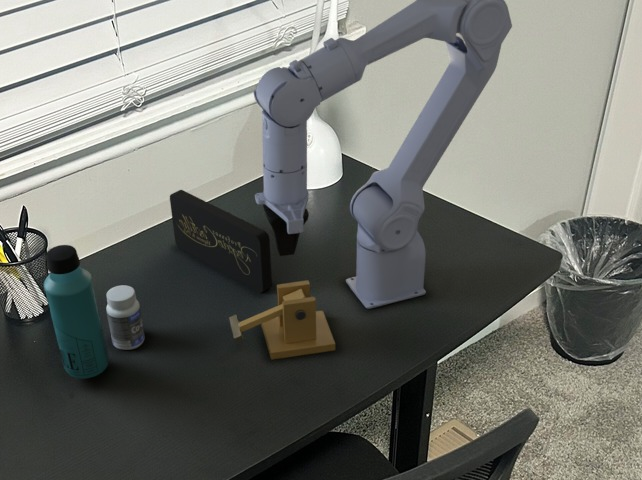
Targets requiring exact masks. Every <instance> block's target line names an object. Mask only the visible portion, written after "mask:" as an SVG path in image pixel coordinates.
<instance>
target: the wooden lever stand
mask: <svg viewBox="0 0 642 480" xmlns="http://www.w3.org/2000/svg"><path fill="white" fill-rule="evenodd" d="M299 289H302V291H303V293H304V295H305V297H306V298H301V299H294V300H287V301H284V299H283V296H285V295H288V294H290V293H292V292H294V291H297V290H299ZM276 292H277V293H276V294H277V306H278V305H281V304H282V306H283V315H281V316H278V317H276V318H274V319H271V320H269V321H267V322H264V323H262V324H260V326H261V329H262V333H263V335H264V339H265V344H266V347H267V350H268V354H269V357H270V360H278V359H285V358H292V357H299V356H305V355H313V354H320V353H326V352H333V351H336V342H335V339H334V336H333V333H332V331H331V329H330V325H329V322H328V320H327V318H326V315H325V313H324V310H317V301H316V297H315V296H311V284H310V281H309V280H308V279H307V280H300V281H293V282H287V283H280V284H276Z"/></svg>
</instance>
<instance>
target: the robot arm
mask: <svg viewBox="0 0 642 480" xmlns="http://www.w3.org/2000/svg"><path fill="white" fill-rule="evenodd" d="M512 28H513V23H512V18H511V16H510V11H509V7H508V4H507V2H506V0H415V1H414V2H411V3H410V4H409V5H407V6H406V7H404V8H403V9H401V10H400V11H397V12H396V13H395V14H393V15H392V16H390V17H388V18H386V19H385V20H384V21H382V22H381V23H380V24H378V25H376V26H375V27H373V28H371V29H369V30H368V31H366V32H365V33H363V34H362V35H360V36H358V37H357V38H356V39H354V40H353V39H352V40H351V39H349V38H345V37H338V38H337V39H334V38H333V37H330V38H328V39H326V40H323V42H322V44H323V46H322V47H321V48H319V49H317V50H314V51H313V52H311V53H310V54H308V55H306V56H305V57H303V58H301V59H299V60H298V59H294V60H292V61H291V62H289V65H288V67H286V66H282V67H280V66H277V67H273V68H271V69H269V70H268V71H266V72H265V73H264V74H263V75H262V76H261V78H260V79H259V81H258V83H257V86H256V89H255V90H253V97H254V100H255V102H256V104H257V105H258V106H259V107H260V108H261V110H262V111H261V125H262V126H261V127H262V129H261V136H262V137H261V140H262V141H261V142H262V147H261V148H262V175H263V177H262V178H263V191H262V192H256V193H255V194H254V200H255V203H256V204H257V205H259V206H261V205H262V208H263V210H264V214H265V217H266V220H267V221H268V223H269V225H270V226H271V228H272V232H273V236H274V243H275V246H276V247H275V248H276V249H277V251H278V255H279V257H286V256H293V255H295V252H296V249H297V246H298V241H299V238H300V234H302V233H304V229H305V228H304V226H305V224H306V223H307V221H308V220H309V216H310V214H309V213H310V212H309V211H308V209H307V204H308V201H309V191H308V121H309V119H310V118H311V117H312V115H313V114H314V111H315V109H316V108H317V107H318V106H320V105H321V103H322V102H324V101H326V100H328V99H330V98H331V97H334V96H335V95H337V94H338V93H340V92H342V91H344V90H345V89H347V88H349V87H351V86H353V85H355V84H356V83H357V82H360V81H361V80H362V79H363V77H364V74H365V71H366V68H367V67H368V66H369V65H371V64H373V63H376V62H377V61H380V60H382V59H384V58H386V57H388V56H390V55H392V54H394V53H396V52H398V51H400V50H403V49H404V48H406V47H409V46H411V45H413V44H415V43H417V42H419V41H422V40H423V39H430V40H436V41H440V42H444V44H445V49H446V52H447V56H448V59H449V64H448V66H447V67H446V69H445V71H444V72H443V74H442V75H441V78H440V79H439V81H438V82H437V84H436V86H435V87H434V89H433V91H432V92H431V94H430V96H429V98H428V99H427V101H426V102H425V104H424V106H423V108H422V110H421V111H420V113H419V115H417V117H416V119H415V121H414V123H413V125H412V127H410V130H409V131H408V133H407V135H406V136H405V138H404V140H403V142H402V143H401V145H400V146H399V148H398V150H397V152H396V153H395V155H394V157H393V158H392V160H391V162H390V163H389V164H388V167H386V168H382V169H380V170H377V171H374V172H372V174H371V176H370V178H369V179H368V180H367V182H366V183H364V184H363V185H362V186H361V187H359V188H358V190H356V192H355V193H354V194H353V196H352V198H351V200H350V204H349V213H350V215H351V216H352V218H353V219H354V220H355V221H356V223H357V232H356V260H355V261H356V263H355V264H356V266H355V268H356V269H355V271H356V272H355V276H352V277H347V278H346V279H345V283H346V284H347V286H348V287H349V288H350V290H351V291H352V292H353V294H354V295H355V296H356V298H357V299H358V300H359V302H361V304H362V305H363V306H364V308H365V309H367V310H371V309H374V308H379V307H382V306H386V305H390V304H393V303H398V302H401V301H406V300H409V299H410V300H411V299H413V298H417V297H421V296H424V295H426V294H427V291H426V290H425V288H424V286H425V272H426V259H427V258H426V257H427V255H426V253H427V252H426V247H425V242H424V240H423V238H422V236H421V234H420V232H419V231H418V227H419V221H420V219H421V217H422V215H423V213H424V212H425V209H426V208H425V198H424V187H425V185H426V183H427V182H428V180H429V178H430V176H431V175H432V173H433V171H434V170H435V168H436V167H437V165H438V164H439V162H440V161H441V159H442V157H443V155H444V154H445V153H446V151H447V149H448V148H449V146H450V144H451V143H452V141H453V139H454V138H455V137H456V134H457V133H458V131H459V130H460V128H461V127H462V125H463V123H464V121H465V120H466V118H467V117H468V115H469V113H470V111H471V110H472V109H473V108H474V106H475V103H476V102H477V101H478V99H479V97H480V96H481V94H482V92H483V91H484V89H485V87H486V86H487V84H488V82H489V81H490V79H491V78H492V76H493V75H494V74H495V71H496V69H497V66H498V62H499V58H500V57H499V56H500V54H501V49H502V44H503V43H504V41H505V39H506V37H508V34H509V33H510V31H511V29H512Z"/></svg>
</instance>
